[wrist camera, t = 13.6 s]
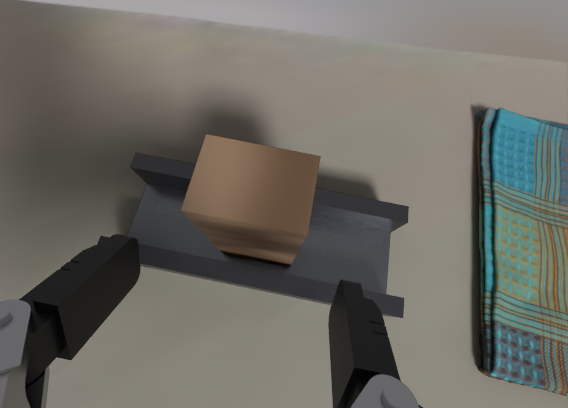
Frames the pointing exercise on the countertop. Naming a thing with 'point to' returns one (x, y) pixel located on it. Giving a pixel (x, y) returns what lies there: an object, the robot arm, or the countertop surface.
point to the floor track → (261, 276)
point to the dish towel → (523, 249)
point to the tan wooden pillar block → (252, 199)
